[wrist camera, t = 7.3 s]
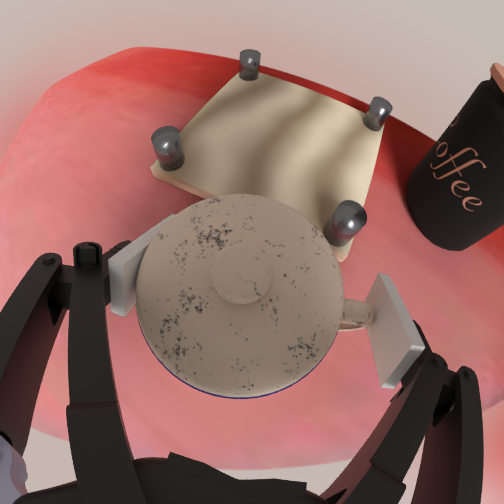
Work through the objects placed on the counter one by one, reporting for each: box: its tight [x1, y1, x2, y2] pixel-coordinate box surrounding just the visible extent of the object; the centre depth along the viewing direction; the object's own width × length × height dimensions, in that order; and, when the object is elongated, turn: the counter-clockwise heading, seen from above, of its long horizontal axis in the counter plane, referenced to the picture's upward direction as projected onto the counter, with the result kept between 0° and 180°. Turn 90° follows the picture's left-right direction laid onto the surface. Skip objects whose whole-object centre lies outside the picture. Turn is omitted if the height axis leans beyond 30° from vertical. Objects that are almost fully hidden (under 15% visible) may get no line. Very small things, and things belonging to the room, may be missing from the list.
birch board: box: [150, 73, 385, 262], centre depth 27 cm, size 19×19×2 cm
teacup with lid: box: [135, 194, 373, 399], centre depth 14 cm, size 12×9×12 cm
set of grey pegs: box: [151, 49, 392, 247], centre depth 24 cm, size 18×18×4 cm
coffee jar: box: [407, 63, 504, 251], centre depth 18 cm, size 11×11×18 cm
